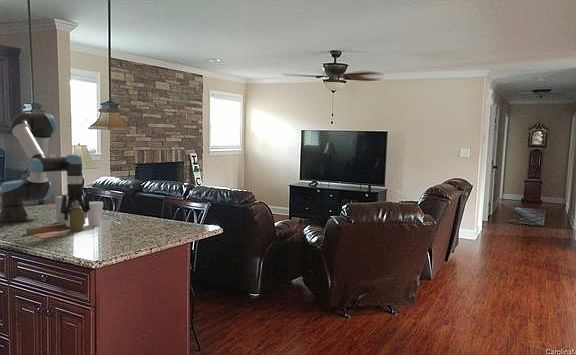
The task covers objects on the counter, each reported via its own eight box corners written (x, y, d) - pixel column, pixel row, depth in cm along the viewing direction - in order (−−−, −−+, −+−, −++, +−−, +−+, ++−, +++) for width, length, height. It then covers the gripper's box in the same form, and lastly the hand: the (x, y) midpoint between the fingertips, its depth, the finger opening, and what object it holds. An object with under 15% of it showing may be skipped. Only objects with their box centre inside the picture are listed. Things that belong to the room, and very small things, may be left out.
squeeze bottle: (86, 231, 256) (85, 198, 254) (71, 233, 250) (70, 199, 249) (80, 228, 262) (80, 196, 260) (65, 230, 256) (64, 197, 254)
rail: (26, 234, 246) (26, 228, 246) (78, 226, 268) (78, 220, 268) (41, 239, 236) (41, 233, 236) (94, 230, 258) (93, 225, 258)
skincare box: (75, 222, 278) (74, 196, 276) (65, 224, 272) (64, 197, 270) (65, 221, 282) (64, 195, 280) (55, 222, 276) (54, 196, 274)
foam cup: (87, 227, 266) (87, 204, 264) (84, 224, 273) (83, 202, 272) (105, 225, 271) (104, 203, 270) (101, 222, 279) (101, 201, 277)
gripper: (59, 185, 243) (60, 228, 245) (96, 182, 259) (97, 223, 262) (51, 184, 247) (53, 226, 250) (89, 181, 264) (90, 221, 266)
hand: (75, 224), depth 256 cm, fingers closed on squeeze bottle, 8 cm apart
